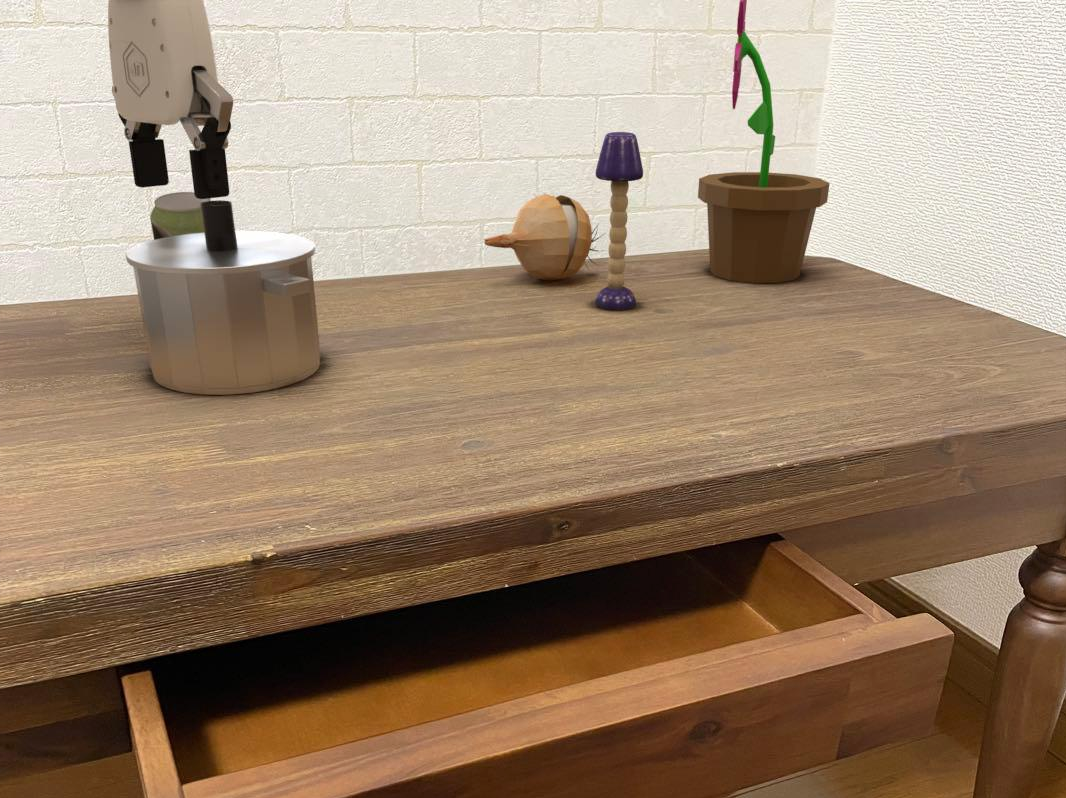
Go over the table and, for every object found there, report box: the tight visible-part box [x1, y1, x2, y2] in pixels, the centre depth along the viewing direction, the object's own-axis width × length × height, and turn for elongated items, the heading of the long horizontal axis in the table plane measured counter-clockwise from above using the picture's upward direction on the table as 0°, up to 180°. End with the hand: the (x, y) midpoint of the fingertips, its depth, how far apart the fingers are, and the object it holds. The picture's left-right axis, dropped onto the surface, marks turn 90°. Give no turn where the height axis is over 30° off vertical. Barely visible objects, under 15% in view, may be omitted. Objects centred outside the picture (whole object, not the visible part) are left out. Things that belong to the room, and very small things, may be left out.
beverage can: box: [149, 191, 212, 240], centre depth 97 cm, size 6×7×12 cm
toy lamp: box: [594, 131, 644, 311], centre depth 103 cm, size 5×5×17 cm
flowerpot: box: [697, 0, 831, 284], centre depth 114 cm, size 14×14×30 cm
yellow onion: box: [483, 193, 606, 282], centre depth 115 cm, size 9×9×15 cm
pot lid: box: [125, 199, 316, 275], centre depth 83 cm, size 15×15×5 cm
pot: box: [132, 256, 322, 396], centre depth 86 cm, size 14×19×10 cm
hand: (181, 191), depth 94 cm, fingers open, 9 cm apart
